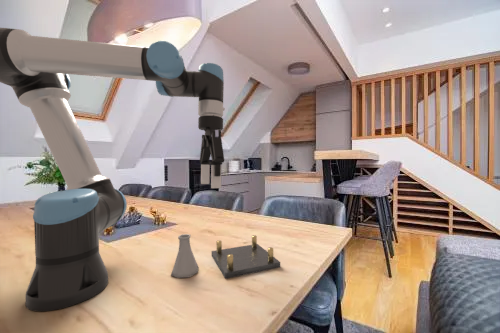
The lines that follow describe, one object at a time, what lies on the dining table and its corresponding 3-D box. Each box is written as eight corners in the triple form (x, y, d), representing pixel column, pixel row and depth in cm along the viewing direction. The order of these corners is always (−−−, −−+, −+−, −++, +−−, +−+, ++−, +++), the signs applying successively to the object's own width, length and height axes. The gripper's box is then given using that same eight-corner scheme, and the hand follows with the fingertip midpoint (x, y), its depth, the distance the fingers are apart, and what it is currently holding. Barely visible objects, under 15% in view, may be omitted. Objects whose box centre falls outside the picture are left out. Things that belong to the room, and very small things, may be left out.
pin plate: (225, 278, 59) (224, 259, 59) (211, 255, 74) (211, 240, 73) (280, 267, 65) (280, 249, 65) (257, 248, 79) (257, 233, 79)
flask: (191, 280, 59) (190, 240, 58) (165, 277, 60) (164, 239, 60) (203, 267, 66) (202, 232, 65) (179, 265, 67) (178, 231, 67)
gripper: (236, 109, 61) (235, 189, 61) (212, 124, 84) (211, 182, 84) (208, 106, 58) (207, 190, 58) (191, 122, 81) (190, 182, 81)
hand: (210, 185), depth 71 cm, fingers open, 13 cm apart
